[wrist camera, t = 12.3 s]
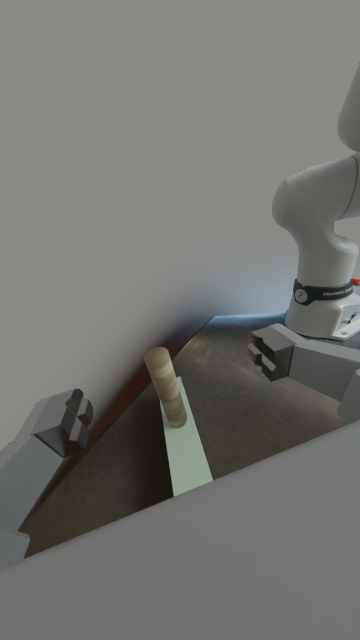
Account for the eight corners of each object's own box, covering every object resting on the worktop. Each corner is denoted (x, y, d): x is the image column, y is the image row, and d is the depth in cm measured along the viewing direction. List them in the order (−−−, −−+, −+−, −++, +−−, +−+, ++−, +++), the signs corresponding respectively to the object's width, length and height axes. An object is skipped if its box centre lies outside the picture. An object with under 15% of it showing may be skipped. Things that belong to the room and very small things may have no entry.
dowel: (184, 406, 30) (166, 344, 23) (189, 424, 27) (170, 359, 20) (167, 412, 29) (143, 351, 23) (170, 431, 26) (144, 367, 20)
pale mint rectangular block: (185, 394, 39) (180, 376, 36) (218, 502, 23) (214, 485, 20) (164, 401, 38) (157, 383, 35) (183, 517, 22) (174, 502, 19)
